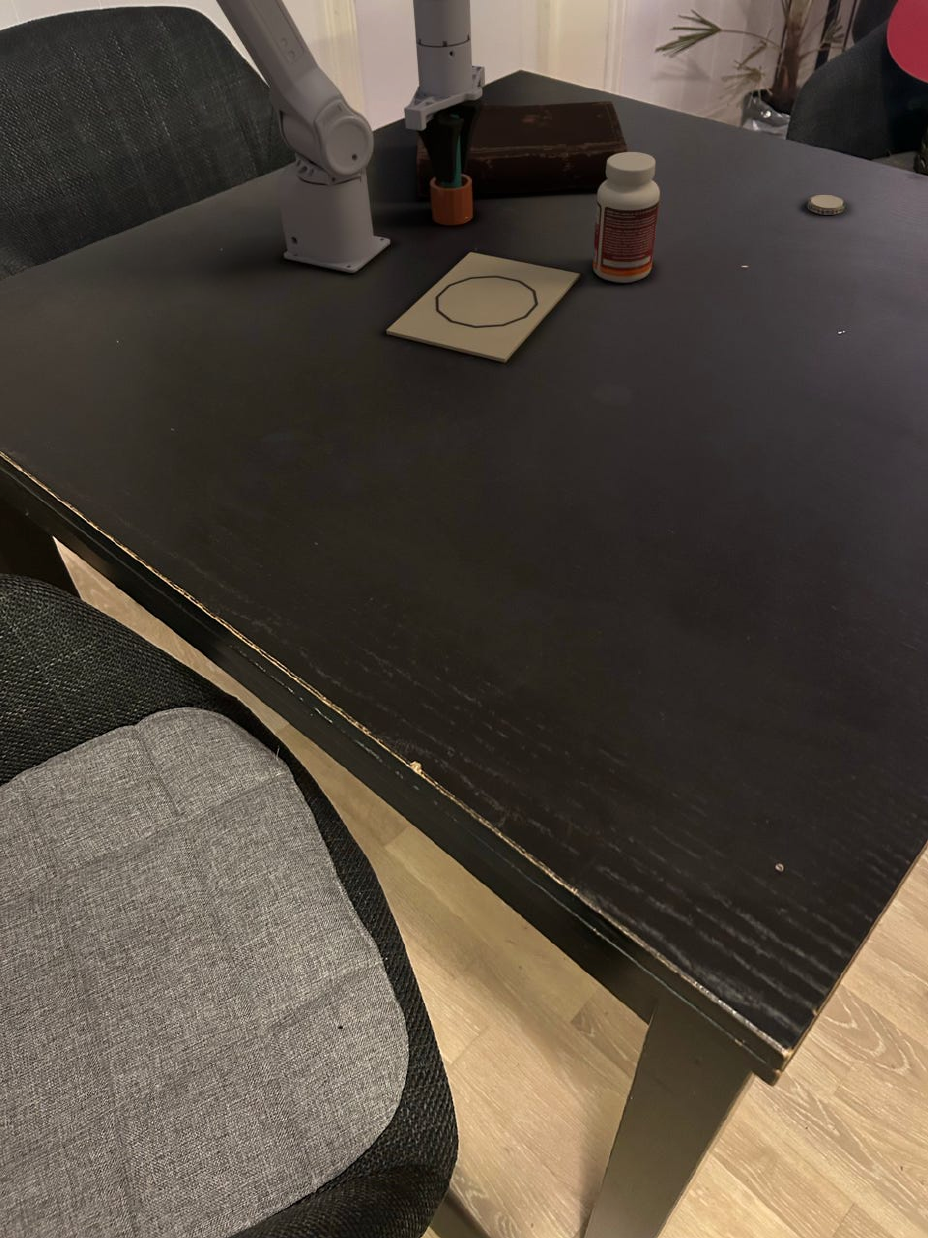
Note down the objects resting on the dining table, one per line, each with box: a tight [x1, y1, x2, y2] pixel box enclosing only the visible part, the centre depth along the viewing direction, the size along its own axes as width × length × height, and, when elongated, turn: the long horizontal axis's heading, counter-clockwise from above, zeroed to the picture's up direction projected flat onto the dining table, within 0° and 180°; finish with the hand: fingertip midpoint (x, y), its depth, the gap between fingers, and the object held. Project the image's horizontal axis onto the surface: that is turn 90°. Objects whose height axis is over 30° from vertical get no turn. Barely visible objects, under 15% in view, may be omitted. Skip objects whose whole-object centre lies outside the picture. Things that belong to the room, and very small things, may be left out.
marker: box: [442, 114, 462, 189], centre depth 99 cm, size 2×2×10 cm
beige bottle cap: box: [806, 194, 846, 215], centre depth 100 cm, size 4×4×1 cm
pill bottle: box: [592, 151, 661, 284], centre depth 89 cm, size 6×6×11 cm
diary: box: [415, 100, 629, 198], centre depth 111 cm, size 19×25×5 cm
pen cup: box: [430, 174, 474, 226], centre depth 102 cm, size 5×5×4 cm
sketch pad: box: [386, 251, 581, 364], centre depth 89 cm, size 13×18×1 cm
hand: (450, 176), depth 100 cm, fingers closed on marker, 2 cm apart
